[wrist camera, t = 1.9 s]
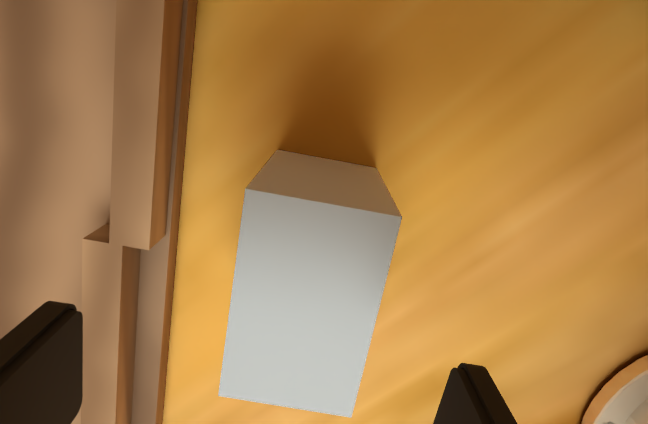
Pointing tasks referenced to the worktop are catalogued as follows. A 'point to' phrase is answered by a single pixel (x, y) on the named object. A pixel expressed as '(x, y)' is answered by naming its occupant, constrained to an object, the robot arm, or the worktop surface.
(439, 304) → the worktop surface
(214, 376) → the worktop surface
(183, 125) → the board
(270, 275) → the panel block
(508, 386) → the worktop surface
